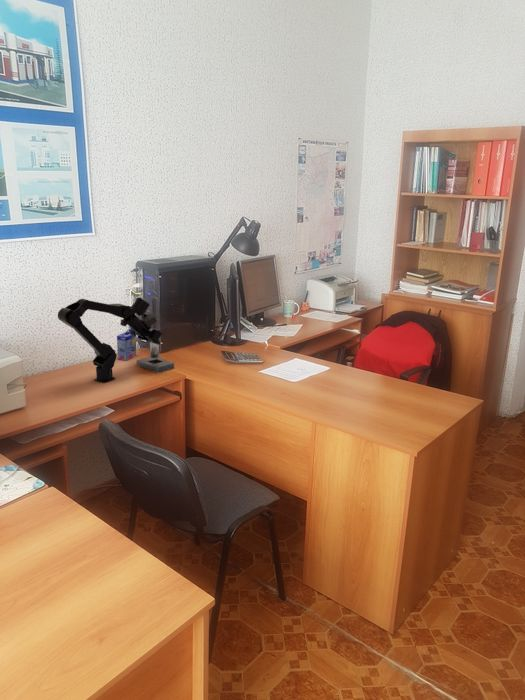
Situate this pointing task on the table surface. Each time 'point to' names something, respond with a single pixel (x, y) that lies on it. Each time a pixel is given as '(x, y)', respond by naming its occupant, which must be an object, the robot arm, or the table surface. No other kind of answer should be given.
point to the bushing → (154, 350)
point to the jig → (155, 364)
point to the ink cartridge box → (126, 345)
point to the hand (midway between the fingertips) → (156, 343)
